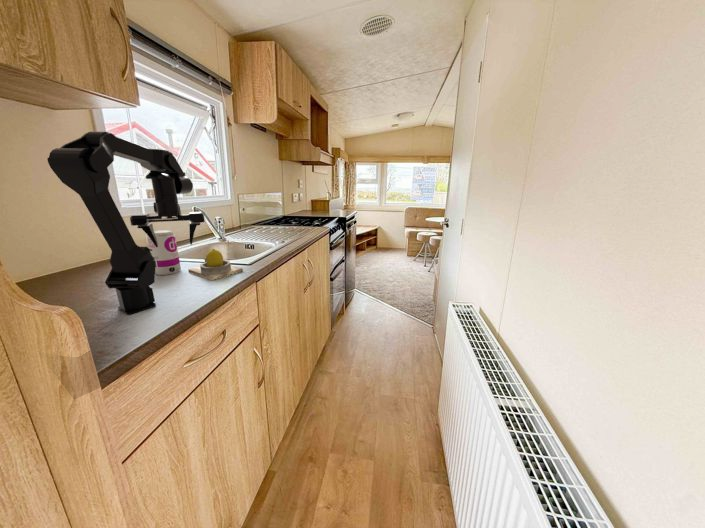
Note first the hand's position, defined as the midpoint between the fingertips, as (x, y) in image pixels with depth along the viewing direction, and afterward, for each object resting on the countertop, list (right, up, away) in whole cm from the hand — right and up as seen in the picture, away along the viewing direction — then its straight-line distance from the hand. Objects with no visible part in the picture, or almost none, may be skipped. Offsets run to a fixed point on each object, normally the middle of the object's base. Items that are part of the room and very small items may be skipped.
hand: (174, 245), depth 88 cm
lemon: (+7, -8, +12) cm, 16 cm away
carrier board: (+6, -9, +15) cm, 18 cm away
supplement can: (-11, -9, +14) cm, 20 cm away
